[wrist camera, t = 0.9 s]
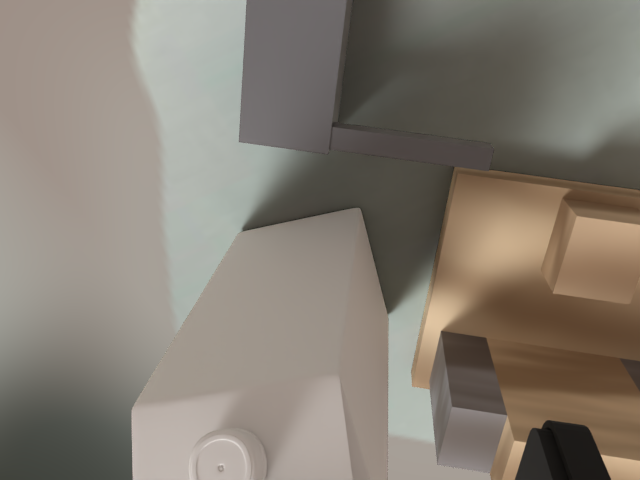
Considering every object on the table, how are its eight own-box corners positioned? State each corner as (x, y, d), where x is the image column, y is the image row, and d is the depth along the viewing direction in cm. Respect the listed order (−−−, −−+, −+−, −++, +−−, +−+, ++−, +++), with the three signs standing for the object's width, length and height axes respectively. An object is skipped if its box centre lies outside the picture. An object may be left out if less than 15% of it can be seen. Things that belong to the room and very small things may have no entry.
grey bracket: (261, 118, 31) (238, 141, 26) (278, -128, 26) (255, -151, 21) (473, 147, 30) (488, 176, 25) (528, -99, 25) (558, -117, 21)
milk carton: (389, 317, 34) (388, 658, 17) (273, 336, 36) (163, 670, 18) (360, 204, 32) (325, 472, 14) (238, 231, 33) (70, 502, 16)
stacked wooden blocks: (454, 164, 30) (480, 237, 22) (734, 202, 29) (878, 294, 21) (411, 371, 35) (418, 495, 27) (647, 407, 35) (732, 548, 26)
